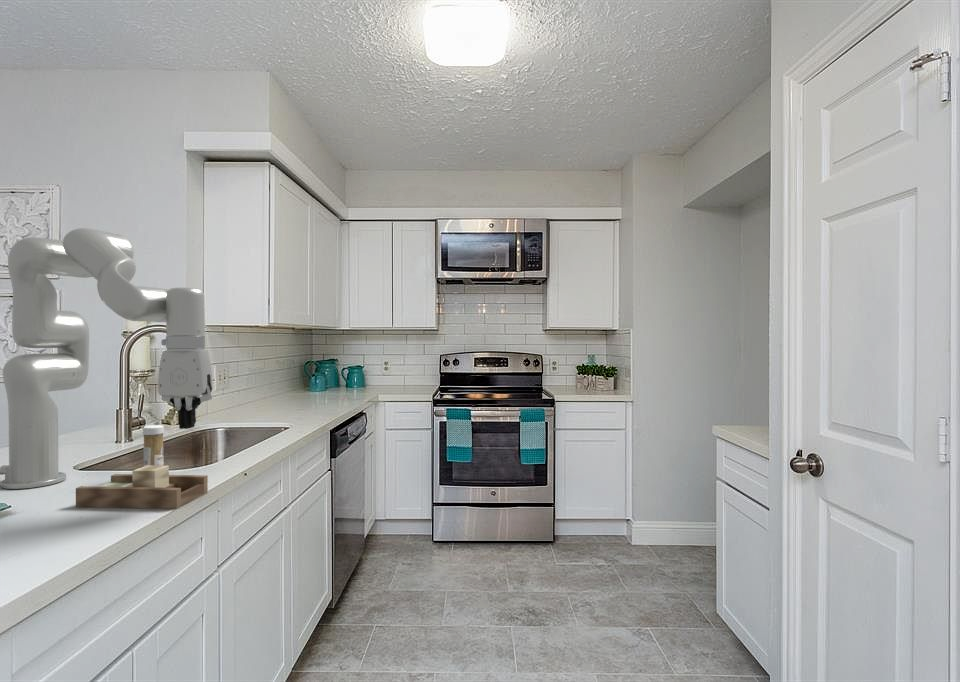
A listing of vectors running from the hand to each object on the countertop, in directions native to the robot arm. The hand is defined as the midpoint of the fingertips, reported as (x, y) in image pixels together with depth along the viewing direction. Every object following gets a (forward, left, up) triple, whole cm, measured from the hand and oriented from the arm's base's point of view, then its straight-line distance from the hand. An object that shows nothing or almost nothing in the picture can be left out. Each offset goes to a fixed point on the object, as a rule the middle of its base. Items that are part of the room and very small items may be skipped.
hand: (187, 427), depth 123 cm
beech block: (-8, 0, -14) cm, 16 cm away
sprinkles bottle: (-19, +17, -16) cm, 30 cm away
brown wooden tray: (-10, 0, -16) cm, 19 cm away
